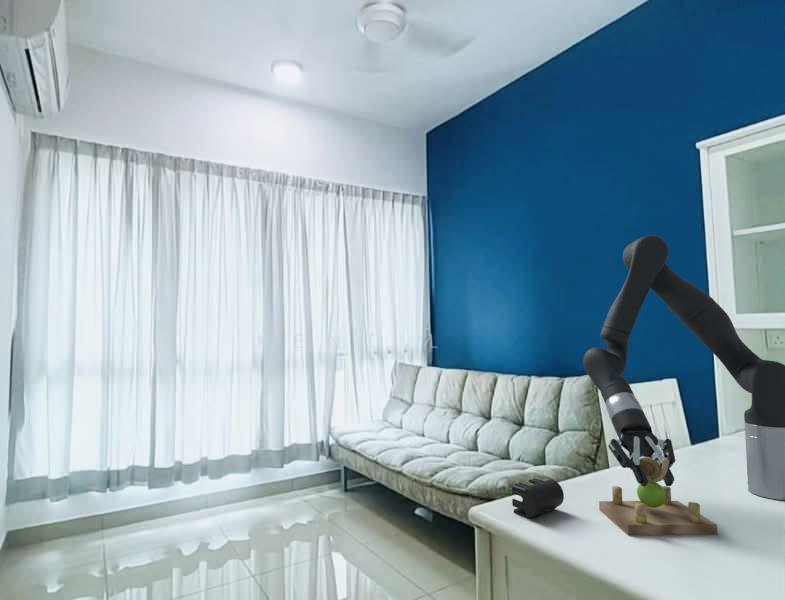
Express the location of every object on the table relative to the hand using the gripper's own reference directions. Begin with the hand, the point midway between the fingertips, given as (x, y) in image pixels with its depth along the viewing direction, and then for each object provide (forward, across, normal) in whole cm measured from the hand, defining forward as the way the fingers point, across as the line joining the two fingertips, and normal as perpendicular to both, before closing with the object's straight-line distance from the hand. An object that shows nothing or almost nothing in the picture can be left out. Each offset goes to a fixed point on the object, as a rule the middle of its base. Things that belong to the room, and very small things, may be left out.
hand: (657, 484), depth 99 cm
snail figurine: (+3, 0, +5) cm, 6 cm away
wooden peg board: (+5, 0, +7) cm, 9 cm away
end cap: (+1, -24, +11) cm, 26 cm away
